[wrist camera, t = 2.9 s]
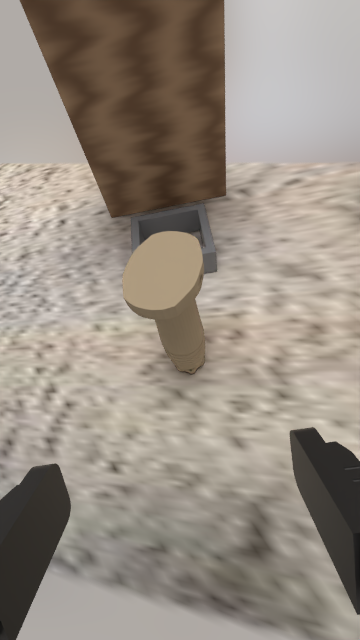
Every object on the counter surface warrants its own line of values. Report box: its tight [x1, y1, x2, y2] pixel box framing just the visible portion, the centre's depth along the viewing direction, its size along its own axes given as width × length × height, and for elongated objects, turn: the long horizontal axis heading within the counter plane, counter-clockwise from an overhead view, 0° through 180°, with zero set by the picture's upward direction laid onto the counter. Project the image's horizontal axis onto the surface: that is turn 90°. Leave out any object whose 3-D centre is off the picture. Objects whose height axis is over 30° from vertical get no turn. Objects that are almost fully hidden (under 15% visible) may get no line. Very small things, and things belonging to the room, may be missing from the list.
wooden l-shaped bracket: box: [20, 0, 226, 218], centre depth 28 cm, size 18×14×32 cm
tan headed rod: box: [122, 231, 205, 374], centre depth 24 cm, size 5×6×15 cm
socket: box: [131, 203, 217, 274], centre depth 38 cm, size 10×9×4 cm
